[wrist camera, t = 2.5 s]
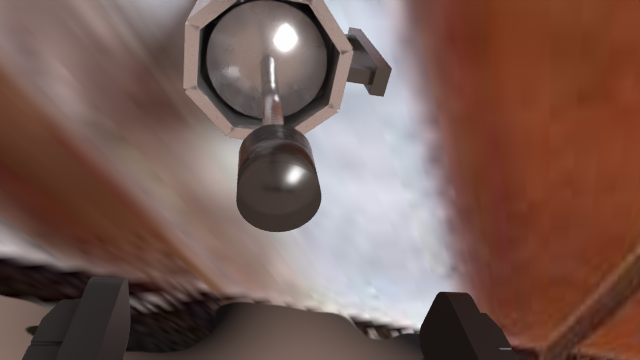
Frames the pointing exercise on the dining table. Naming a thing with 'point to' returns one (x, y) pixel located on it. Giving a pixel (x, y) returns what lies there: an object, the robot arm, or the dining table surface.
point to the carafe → (342, 66)
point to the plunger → (270, 106)
